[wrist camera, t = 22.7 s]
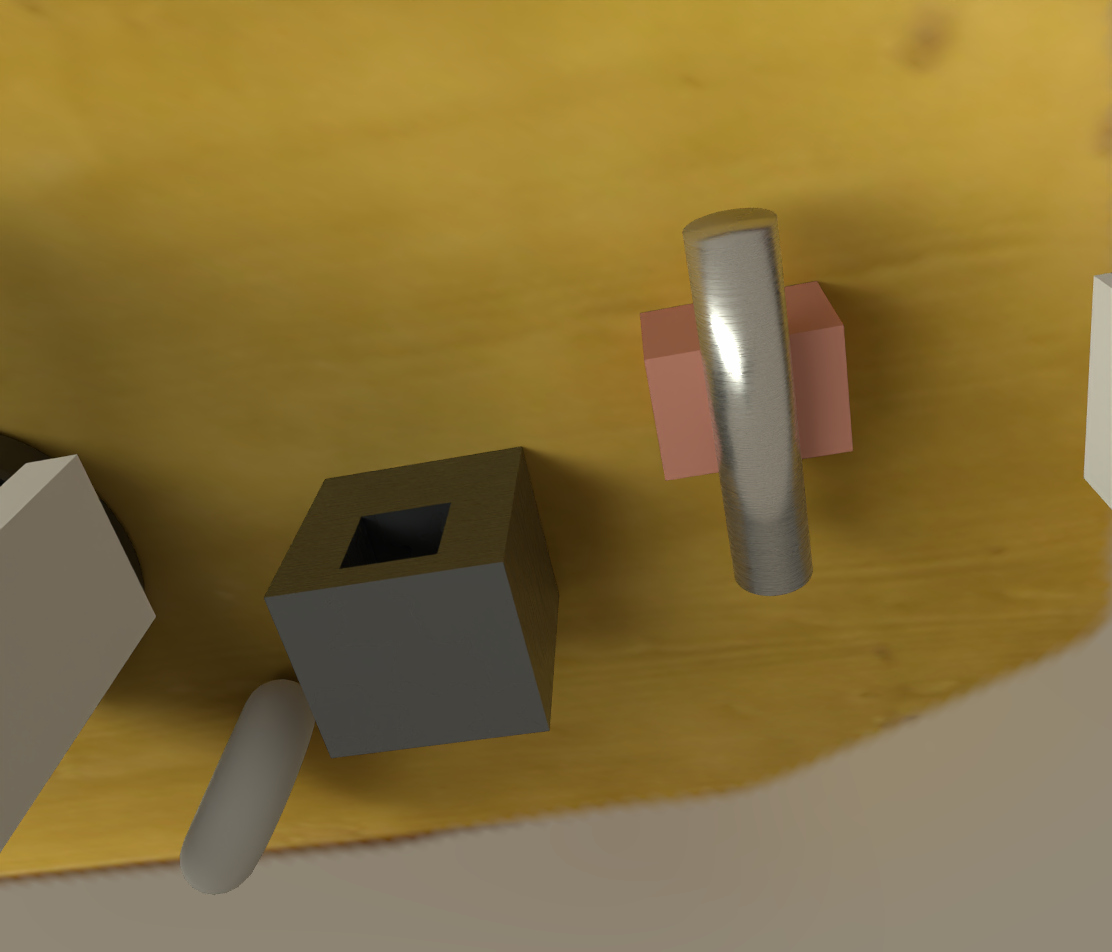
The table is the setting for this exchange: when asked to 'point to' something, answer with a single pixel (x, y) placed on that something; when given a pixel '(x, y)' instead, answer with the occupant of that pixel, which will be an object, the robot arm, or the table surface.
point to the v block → (685, 394)
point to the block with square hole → (421, 606)
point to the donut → (248, 788)
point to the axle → (751, 395)
